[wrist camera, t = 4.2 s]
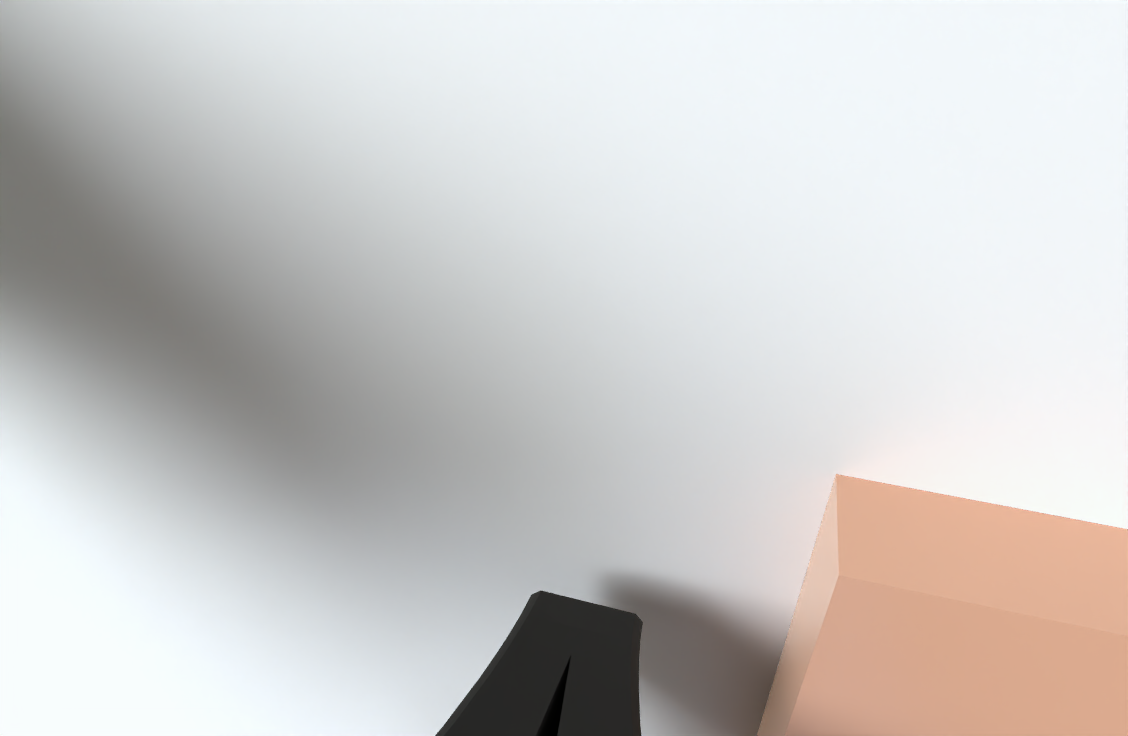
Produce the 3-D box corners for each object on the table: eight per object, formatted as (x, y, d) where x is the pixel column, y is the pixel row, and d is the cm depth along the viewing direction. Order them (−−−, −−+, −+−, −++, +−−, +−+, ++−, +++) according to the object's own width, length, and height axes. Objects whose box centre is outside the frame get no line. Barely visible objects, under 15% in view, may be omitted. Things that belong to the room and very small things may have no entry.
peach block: (1159, 844, 13) (1209, 998, 11) (747, 744, 14) (738, 871, 12) (1404, 559, 9) (1525, 719, 8) (835, 452, 10) (839, 575, 9)
